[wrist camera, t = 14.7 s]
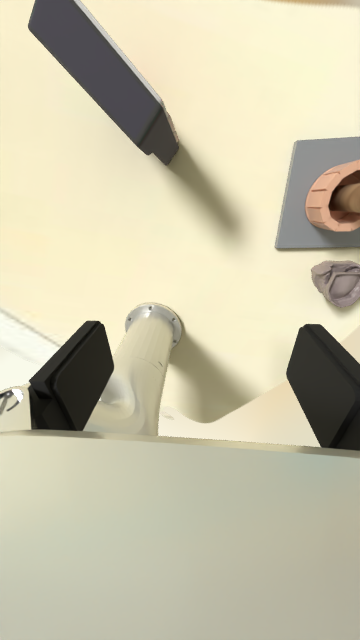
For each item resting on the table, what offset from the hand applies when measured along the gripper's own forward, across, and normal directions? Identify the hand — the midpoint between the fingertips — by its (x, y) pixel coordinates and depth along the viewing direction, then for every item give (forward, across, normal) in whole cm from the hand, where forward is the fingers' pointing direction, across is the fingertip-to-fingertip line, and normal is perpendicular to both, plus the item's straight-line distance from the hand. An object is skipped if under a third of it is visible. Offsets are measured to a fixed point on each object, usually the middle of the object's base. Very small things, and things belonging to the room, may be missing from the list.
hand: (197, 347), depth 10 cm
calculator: (+31, +8, -16) cm, 35 cm away
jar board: (+30, -20, -6) cm, 37 cm away
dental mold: (+31, -24, +7) cm, 39 cm away
